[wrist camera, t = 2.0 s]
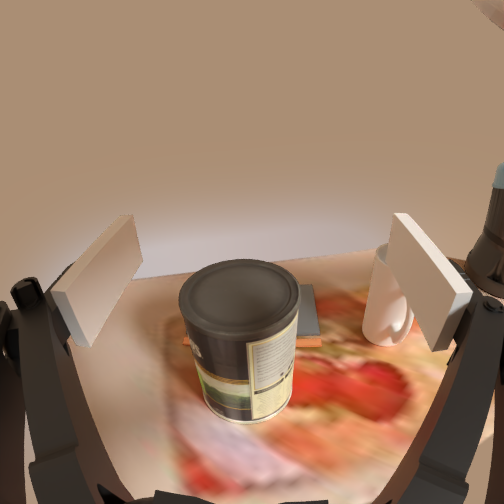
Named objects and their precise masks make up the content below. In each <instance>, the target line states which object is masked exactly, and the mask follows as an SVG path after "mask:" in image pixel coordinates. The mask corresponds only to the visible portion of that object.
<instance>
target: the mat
mask: <svg viewBox="0 0 504 504" xmlns="http://www.w3.org/2000/svg"><path fill="white" fill-rule="evenodd" d="M300 289H301V302H300V306H299V309H298V322H297V334H296V336H309V335H320V330H319V323H318V317H317V311H316V305H315V299H314V293H313V287H312V285H300ZM186 334H188V333H187V330H186Z"/></svg>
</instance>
